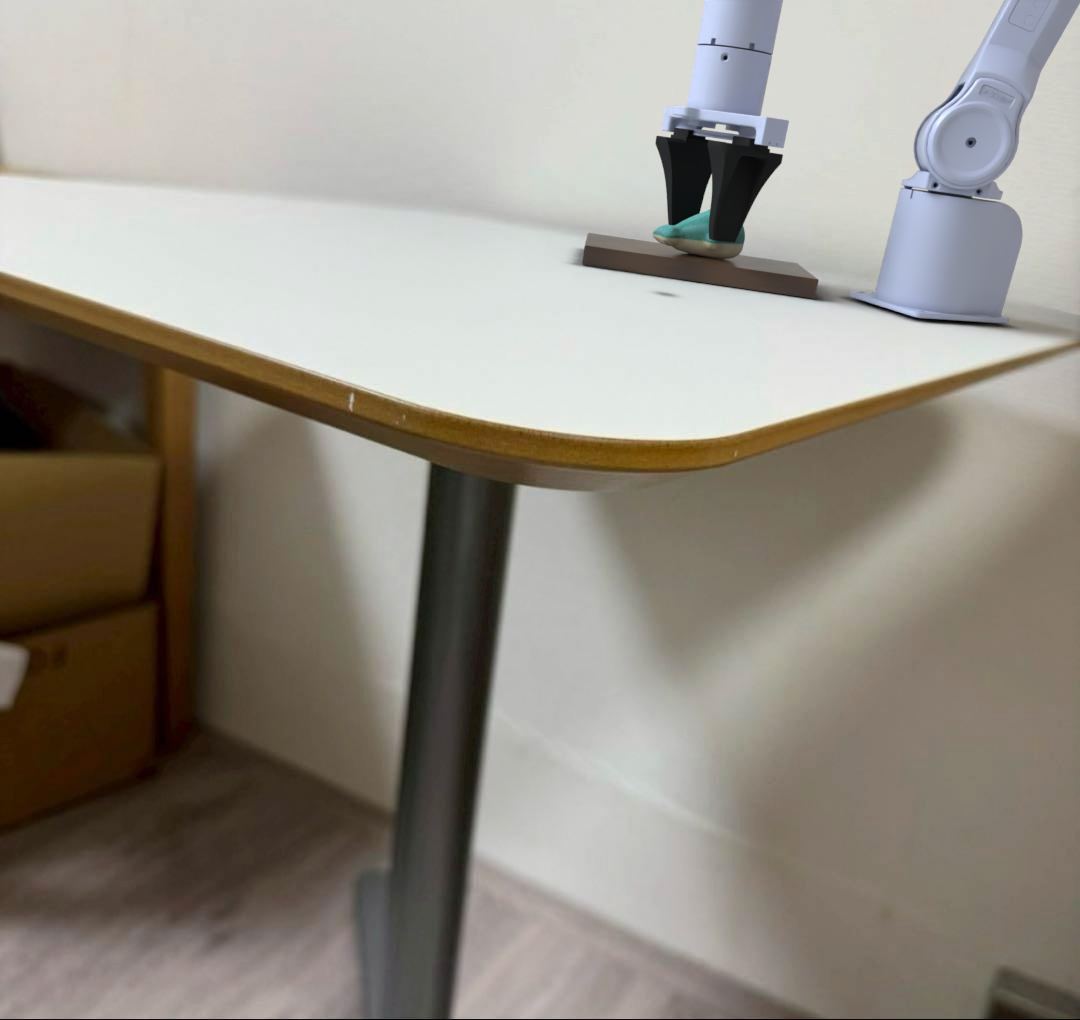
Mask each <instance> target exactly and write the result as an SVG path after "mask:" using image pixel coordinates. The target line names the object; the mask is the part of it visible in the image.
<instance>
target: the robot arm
mask: <svg viewBox="0 0 1080 1020" xmlns="http://www.w3.org/2000/svg"><path fill="white" fill-rule="evenodd" d="M703 2H704V3H703V7H702V8H703V9H702V12H701V13H702V14H701V20H700V24H699V31H698V38H697V42H696V50H695V54H694V60H693V66H692V73H691V79H690V84H689V89H688V95H687V101H686V105H684V106H683V105H674V106H669V105H668V106H665V107H664V113H663V118H662V119H663V120H662V125H661V131H662V132H669V133H672V134H670V136H664V135H663V136H662V135H656V137H655V147H656V149H657V151H658V155H659V158H660V161H661V165H662V169H663V175H664V181H665V190H666V191H665V193H666V210H667V223H668V224H667V225H677V224H678V223H680V222H682V221H684V220H686V219H688V218H690V217H692V216H694V215H697V214H700V213H701V209H702V206H703V202H704V198H705V193H706V190H707V187H708V184H709V182H710V179H711V198H710V199H711V200H710V217H709V239H711V240H715V241H724V242H735V241H736V239H737V237H738V235H739V233H740V231H741V228H742V226H743V227H744V223H745V222H746V220H747V217H748V215H749V213H750V211H751V209H752V206H753V205H754V203H755V201H756V199H757V197H758V195H759V194H760V192H761V191H762V189H763V187H764V186H765V184H766V183H767V181H768V180H769V179H770V178H771V176H772V175H773V173H774V172H776V170H778V168H779V167H780V166H781V164H782V162H783V157H784V154H783V153H778V152H777V153H776V152H771V149H770V148H769V147H771V148H772V147H773V148H777V149H784V147H785V143H786V138H787V133H788V129H789V123H790V120H788V119H783V118H776V117H771V116H770V117H769V116H762V110H763V107H764V100H765V95H766V90H767V85H768V80H769V75H770V71H771V65H772V59H773V54H774V49H775V44H776V39H777V34H778V27H779V23H780V18H781V15H782V14H781V13H782V9H783V3H784V0H704V1H703ZM1079 5H1080V0H1003V2H1002V4H1001V6H1000V8H999V9H998V11H997V13H996V15H995V17H994V18H993V21H992V22H991V24H990V26H989V27H988V29H987V31H986V33H985V35H984V37H983V39H982V41H981V43H980V45H979V47H978V48H977V50H976V52H975V53H974V55H973V56H972V57H971V60H970V61H969V62H968V64H967V66H966V67H965V69H964V70H963V72H962V74H961V75H960V77H959V78H958V80H957V82H956V84H955V86H954V87H953V90H951V93H950V94H949V95H948V97H947V98H946V99H945V100H944V101H943V102H942V103H941V104H939V105H937V107H936V108H934V109H933V110H931V111H930V112H929V113H928V114H926V116H924V118H923V120H922V121H921V122H920V124H919V127H918V128H917V130H916V132H915V136H914V140H913V157H914V161H915V164H916V166H917V167H918V170H917V171H916V172H915V173H913V175H912V176H911V177H909V178H905V179H902V180H901V183H900V185H901V186H903V187H900V188H899V191H898V195H897V199H896V203H895V208H894V211H893V212H894V213H893V216H892V219H891V220H892V221H891V223H890V224H891V225H890V228H889V233H888V237H887V241H886V245H885V249H884V252H883V257H882V261H881V265H880V268H879V273H878V277H877V282H876V285H875V290H874V292H869V291H855V290H851V291H849V295H848V296H849V297H850V298H853V299H855V300H858V301H863V302H866V303H869V304H871V305H874V306H877V307H881V308H885V309H887V310H891V311H894V312H897V313H900V314H903V315H906V316H910V317H912V318H918V319H929V320H943V321H959V322H960V321H961V322H974V323H989V324H1003V325H1004V324H1005V325H1006V324H1009V320H1010V318H1009V317H1007V316H1003V315H1002V313H1003V311H1004V306H1005V303H1006V299H1007V297H1008V293H1009V290H1010V289H1009V288H1010V285H1011V282H1012V279H1013V275H1014V272H1015V269H1016V265H1017V261H1018V258H1019V254H1020V251H1021V247H1022V243H1023V233H1024V232H1023V225H1022V220H1021V217H1020V215H1019V213H1018V212H1017V211H1016V210H1015V209H1014V208H1013V207H1012V206H1010V205H1009V204H1007V203H1004V202H1002V201H1000V200H1002V198H1003V194H1004V191H1003V190H1001V189H1000V188H999V187H998V183H997V182H996V180H998V178H1000V177H1001V176H1002V175H1003V174H1004V173H1005V172H1006V171H1007V169H1008V168H1009V167H1010V166H1011V164H1012V162H1013V161H1014V159H1015V156H1016V154H1017V151H1018V149H1019V148H1018V147H1019V143H1020V142H1019V141H1020V129H1021V128H1020V127H1021V123H1022V119H1023V116H1024V114H1025V112H1026V110H1027V108H1028V107H1029V105H1030V103H1031V101H1032V100H1033V97H1034V95H1035V92H1036V90H1037V89H1036V88H1037V85H1038V82H1039V78H1040V76H1041V73H1042V71H1043V69H1044V67H1045V65H1046V64H1047V63H1048V60H1049V58H1050V56H1051V55H1052V53H1053V51H1054V49H1055V48H1056V46H1057V44H1058V42H1059V41H1060V39H1061V38H1062V35H1063V34H1064V33H1065V30H1066V29H1067V27H1068V25H1069V23H1070V21H1071V20H1072V18H1073V16H1074V15H1075V13H1076V12H1077V9H1078V8H1079ZM717 125H722V126H725V128H724V129H725V130H726V131H731V133H729V132H723V131H714V130H715V129H716V127H717ZM703 128H706V129H703ZM708 129H709V130H708ZM710 129H713V130H710ZM732 132H736V133H737V134H736V133H732ZM707 138H711V139H707ZM712 138H713V139H719V140H713V139H712ZM720 140H726V141H731V142H726V141H720Z"/></svg>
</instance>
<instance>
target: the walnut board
mask: <svg viewBox="0 0 1080 1020" xmlns="http://www.w3.org/2000/svg"><path fill="white" fill-rule="evenodd" d="M582 253H583V254H582V262H581V265H582V266H588V267H594V268H601V269H608V270H614V271H620V272H627V273H635V274H641V275H646V276H647V275H649V276H655V277H661V278H667V279H676V280H681V281H689V282H695V283H703V284H710V285H717V286H722V287H731V288H736V289H743V290H751V291H756V292H757V291H758V292H762V293H763V292H764V293H770V294H777V295H783V296H784V295H785V296H791V297H797V298H805V299H811V300H814V299H815V298H816V294H817V290H818V286H819V279H818V278H817V277H816V276H815V275H813V274H812V273H810V272H809V271H808V270H807V269H805V267H804V266H802V265H800V264H799V263H798V262H792V261H785V260H779V259H771V258H765V257H758V256H751V255H744V254H739V255H738V256H736V257H734V258H730V259H718V258H710V257H704V256H699V255H694V254H690V253H687V252H683V251H680V250H677V249H675V248H673V247H672V246H667V245H665V244H662V243H659V242H657V241H656V242H655V241H649V240H641V239H634V238H627V237H621V236H613V235H607V234H601V233H593V232H588V233H587V234H586V239H585V243H584V248H583V252H582Z"/></svg>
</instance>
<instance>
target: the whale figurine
mask: <svg viewBox="0 0 1080 1020" xmlns="http://www.w3.org/2000/svg"><path fill="white" fill-rule="evenodd" d="M709 217H710V209H707V210H705V211H702V212H700V214H697V215H694V216H692V217H690V218H688V219H686V220H684V221H682V222H680V223H678V224H677V225H669V224H663V225H660V226H659V227H656V228H655V229H654V230H653V232H652V233H651V234H652V238H653V239H655V241H656V242H657V243H662V244H665V245H667V246H672V247H673V248H675V249H677V250H680V251H683V252H687V253H690V254H694V255H699V256H704V257H710V258H718V259H730V258H734V257H736V256H738V255H741V253H742V252H743V249H744V245H745V241H746V232H745V226H744V225H743V226H742V228H741V231H740V233H739V235H738V237H737V239H736V241H735V242H724V241H715V240H711V239H709Z"/></svg>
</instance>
